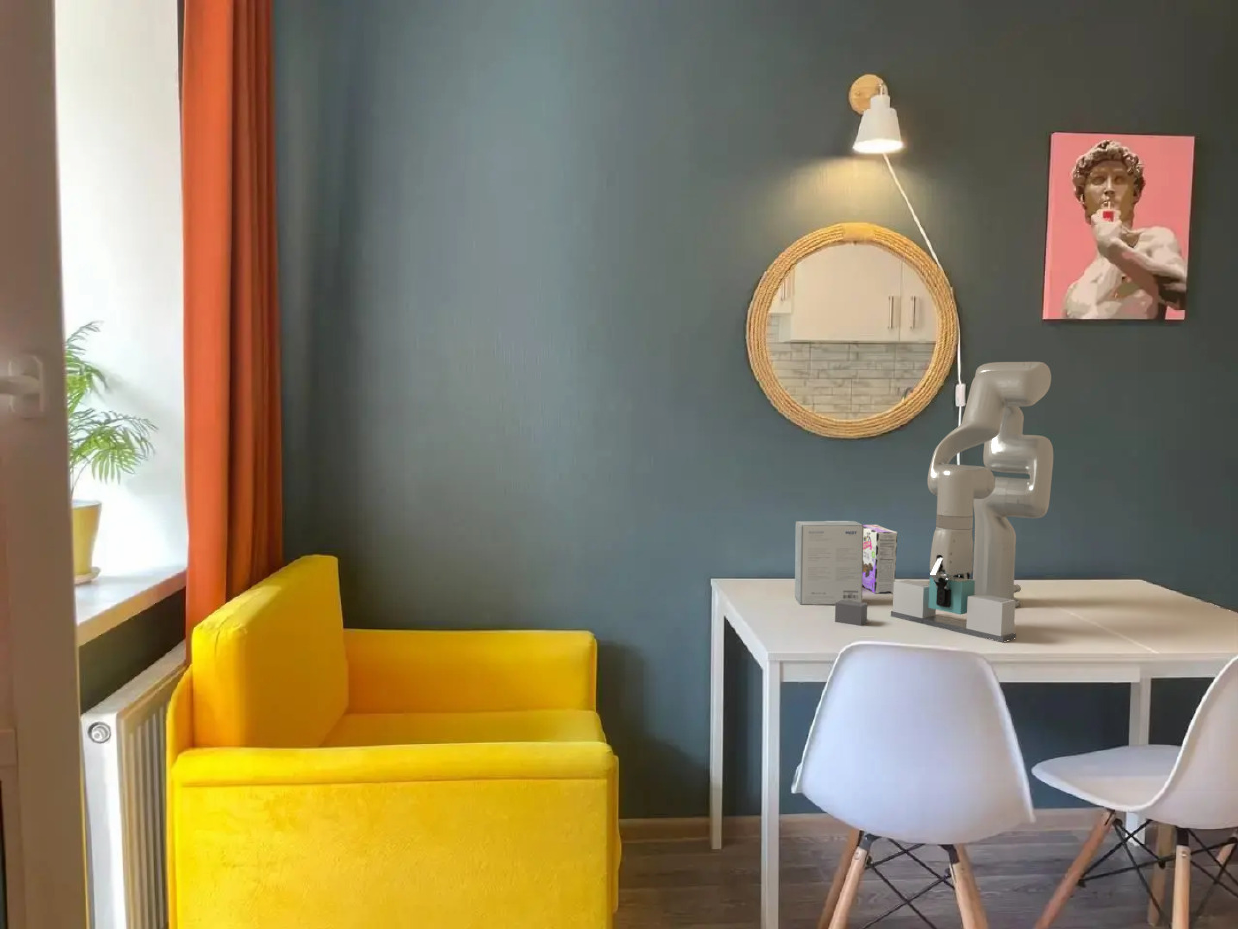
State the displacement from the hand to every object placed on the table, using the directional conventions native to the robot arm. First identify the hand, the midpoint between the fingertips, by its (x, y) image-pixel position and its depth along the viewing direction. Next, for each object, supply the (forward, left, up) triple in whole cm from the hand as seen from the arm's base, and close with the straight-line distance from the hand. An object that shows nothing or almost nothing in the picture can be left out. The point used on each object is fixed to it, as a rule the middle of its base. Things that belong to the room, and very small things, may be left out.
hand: (950, 604), depth 203 cm
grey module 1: (0, -10, -4) cm, 10 cm away
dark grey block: (+15, -16, -5) cm, 22 cm away
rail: (0, 0, -5) cm, 5 cm away
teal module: (0, 0, -1) cm, 1 cm away
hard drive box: (+3, -33, -6) cm, 33 cm away
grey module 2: (0, +9, -4) cm, 10 cm away
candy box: (-21, -37, -6) cm, 43 cm away
